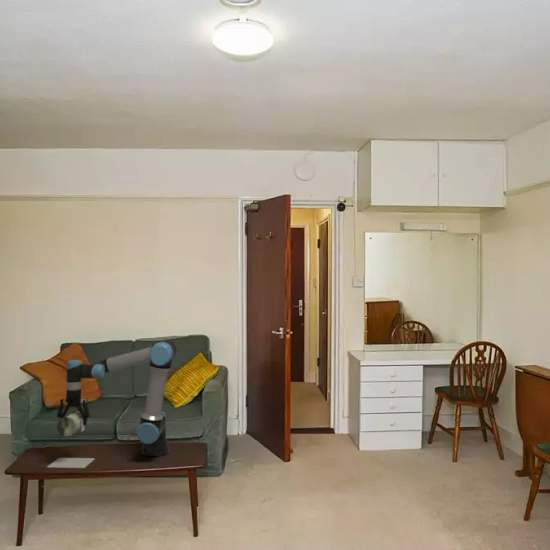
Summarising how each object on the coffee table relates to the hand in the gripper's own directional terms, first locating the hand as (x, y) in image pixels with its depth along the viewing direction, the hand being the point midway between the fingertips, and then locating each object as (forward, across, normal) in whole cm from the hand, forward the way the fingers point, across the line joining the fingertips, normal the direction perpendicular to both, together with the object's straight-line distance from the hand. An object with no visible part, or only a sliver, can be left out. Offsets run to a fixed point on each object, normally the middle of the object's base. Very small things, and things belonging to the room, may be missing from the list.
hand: (73, 430), depth 283 cm
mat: (+17, 0, -3) cm, 17 cm away
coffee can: (-4, 0, -8) cm, 9 cm away
